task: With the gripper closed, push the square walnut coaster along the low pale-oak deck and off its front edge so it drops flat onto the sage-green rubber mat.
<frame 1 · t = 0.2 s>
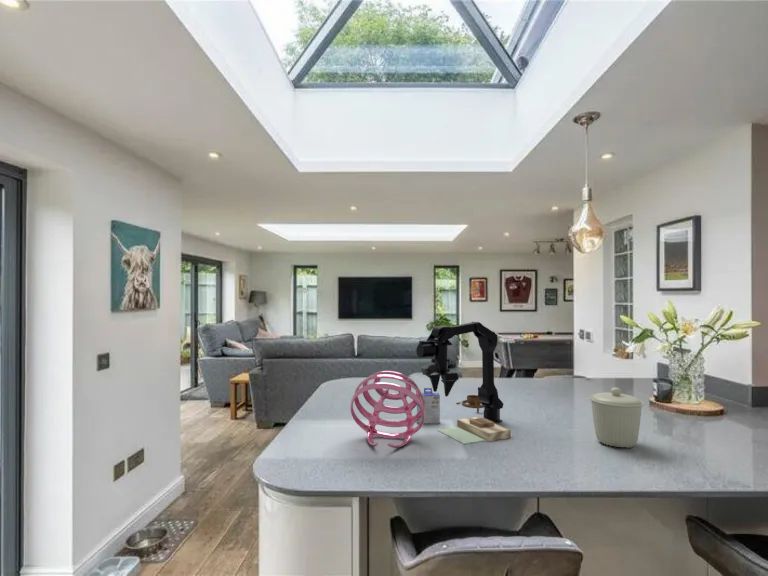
hand: (440, 393, 175), 14 cm above the counter, fingers open, 9 cm apart
spiral basket: (389, 442, 158), on the counter
sage mat: (460, 435, 166), on the counter
walnut coaster: (481, 424, 171), point 3 cm above the counter, touching oak deck
oak deck: (482, 431, 171), on the counter
ink cartridge box: (428, 422, 184), on the counter
canister: (616, 444, 158), on the counter
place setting: (471, 408, 211), on the counter
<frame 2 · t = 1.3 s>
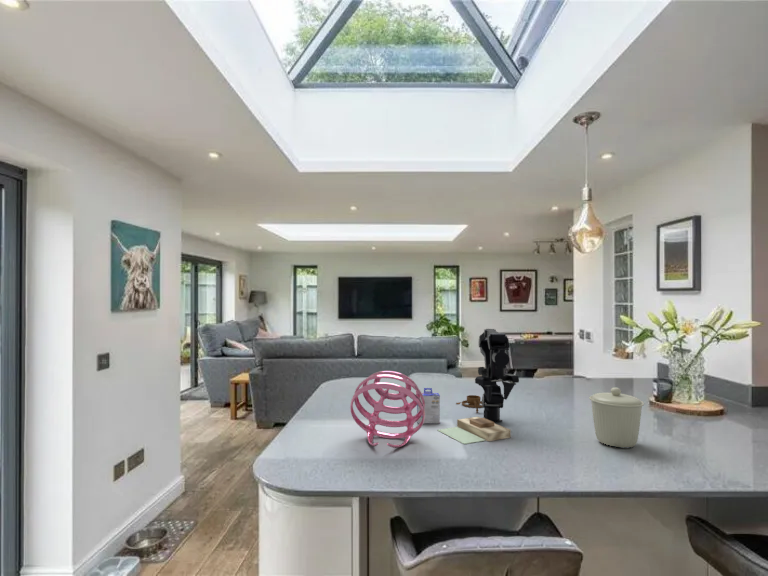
hand: (497, 400, 175), 12 cm above the counter, fingers open, 8 cm apart
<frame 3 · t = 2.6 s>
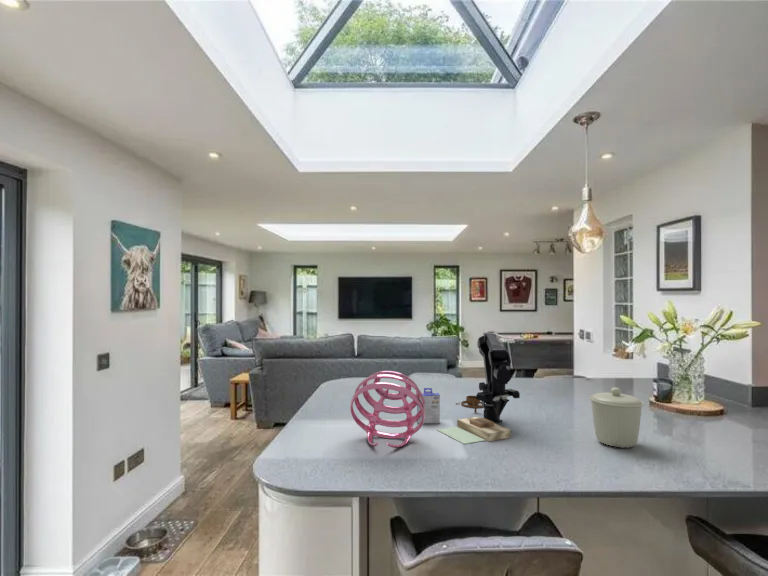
hand: (498, 416, 175), 5 cm above the counter, fingers closed
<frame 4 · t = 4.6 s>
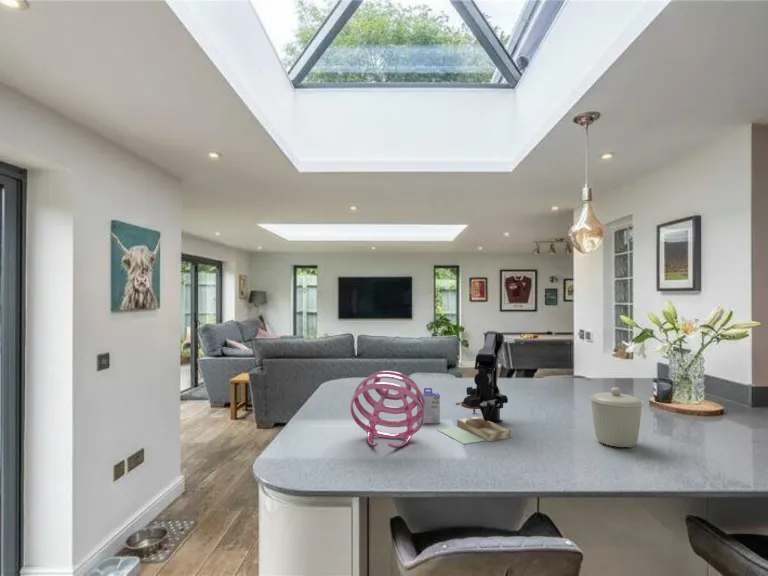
hand: (485, 421, 172), 4 cm above the counter, fingers closed
walnut coaster: (478, 425, 170), point 3 cm above the counter, touching gripper, oak deck
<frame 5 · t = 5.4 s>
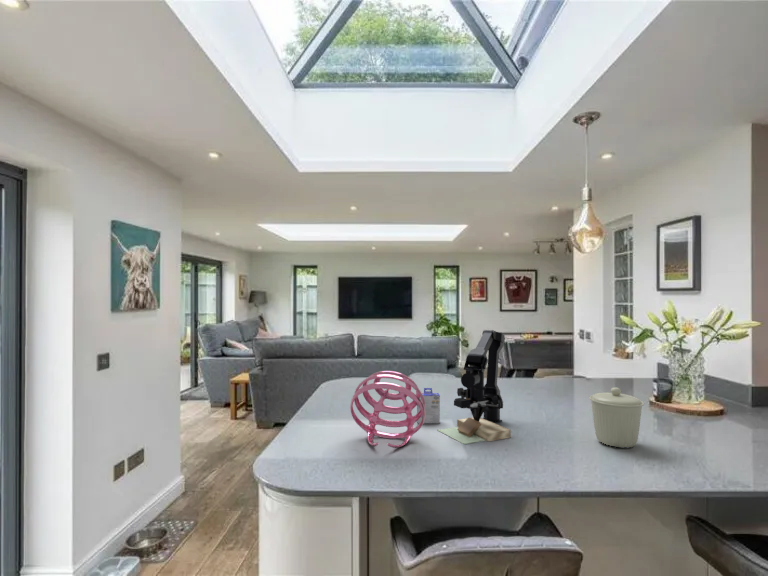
hand: (476, 422, 170), 4 cm above the counter, fingers closed
walnut coaster: (470, 428, 168), point 2 cm above the counter, tilted 35°, touching gripper
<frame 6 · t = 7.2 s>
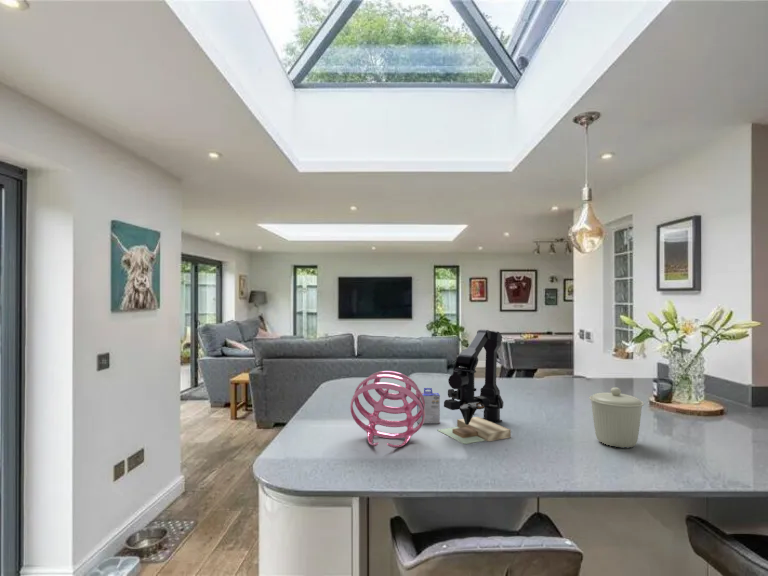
hand: (466, 424, 168), 4 cm above the counter, fingers closed
walnut coaster: (464, 434, 167), resting on sage mat
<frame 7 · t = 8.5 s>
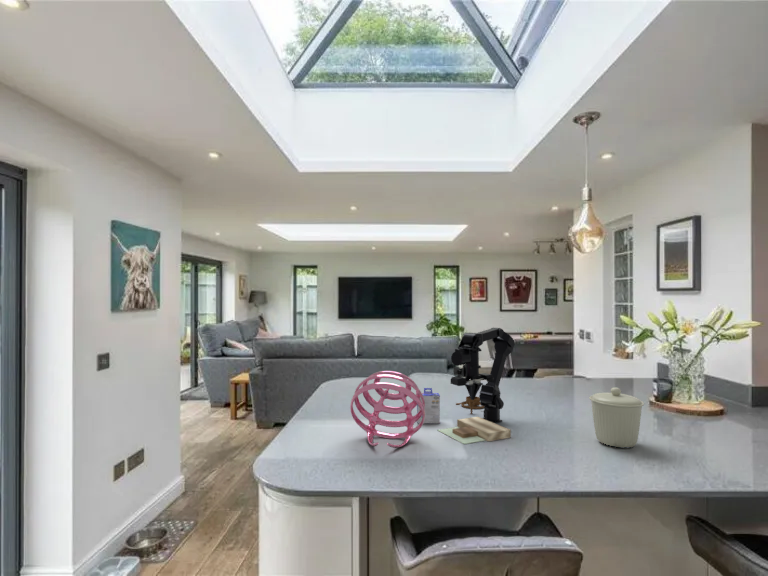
hand: (472, 399, 178), 11 cm above the counter, fingers closed
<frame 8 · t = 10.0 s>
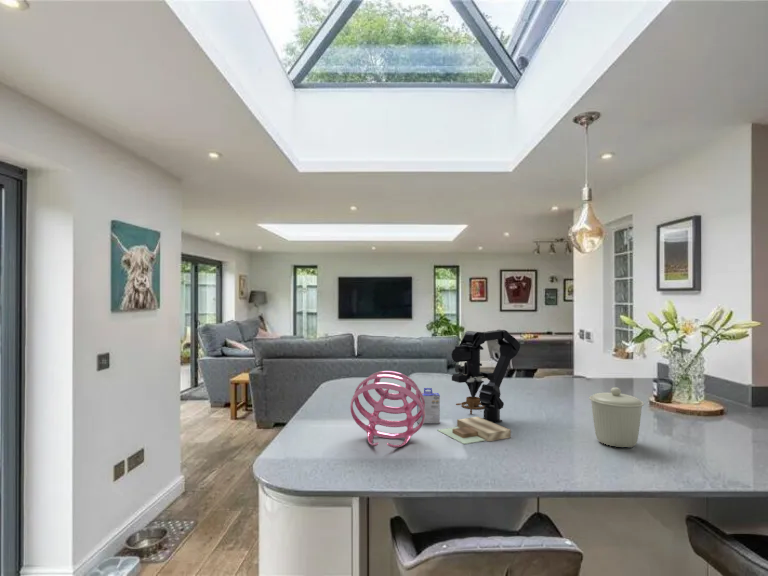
hand: (473, 397, 180), 12 cm above the counter, fingers closed
at the end: walnut coaster inside the target area (2.4 cm from its centre), resting on sage mat; walnut coaster touching sage mat; walnut coaster tilted 0° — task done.
